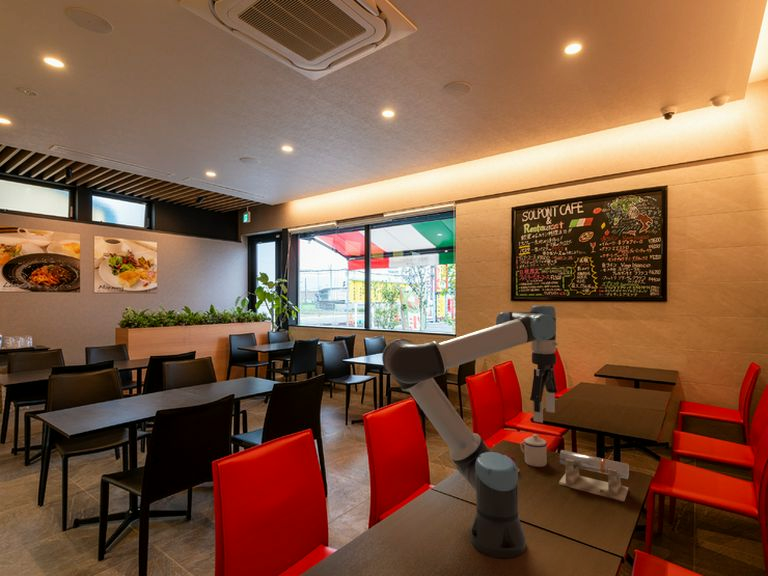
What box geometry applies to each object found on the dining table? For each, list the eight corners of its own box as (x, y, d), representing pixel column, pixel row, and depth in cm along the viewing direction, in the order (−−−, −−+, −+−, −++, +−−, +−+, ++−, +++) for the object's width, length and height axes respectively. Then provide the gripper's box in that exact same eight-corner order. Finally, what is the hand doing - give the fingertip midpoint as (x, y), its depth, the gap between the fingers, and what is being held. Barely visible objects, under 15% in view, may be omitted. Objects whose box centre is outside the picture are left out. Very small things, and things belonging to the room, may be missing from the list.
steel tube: (558, 462, 153) (560, 448, 155) (562, 464, 156) (563, 451, 158) (626, 478, 139) (627, 462, 141) (628, 480, 143) (629, 465, 145)
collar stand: (559, 484, 151) (558, 458, 151) (566, 474, 159) (565, 450, 159) (624, 501, 138) (623, 473, 138) (628, 490, 146) (627, 463, 146)
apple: (520, 475, 159) (520, 458, 159) (499, 474, 161) (499, 457, 161) (517, 467, 167) (517, 451, 167) (497, 465, 168) (497, 449, 169)
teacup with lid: (552, 464, 169) (551, 435, 169) (538, 469, 164) (537, 440, 164) (527, 454, 179) (527, 428, 179) (514, 459, 174) (513, 432, 174)
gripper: (544, 357, 122) (545, 428, 122) (565, 348, 142) (566, 409, 142) (519, 355, 127) (520, 423, 127) (543, 347, 147) (543, 406, 146)
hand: (544, 416), depth 134 cm, fingers open, 13 cm apart
